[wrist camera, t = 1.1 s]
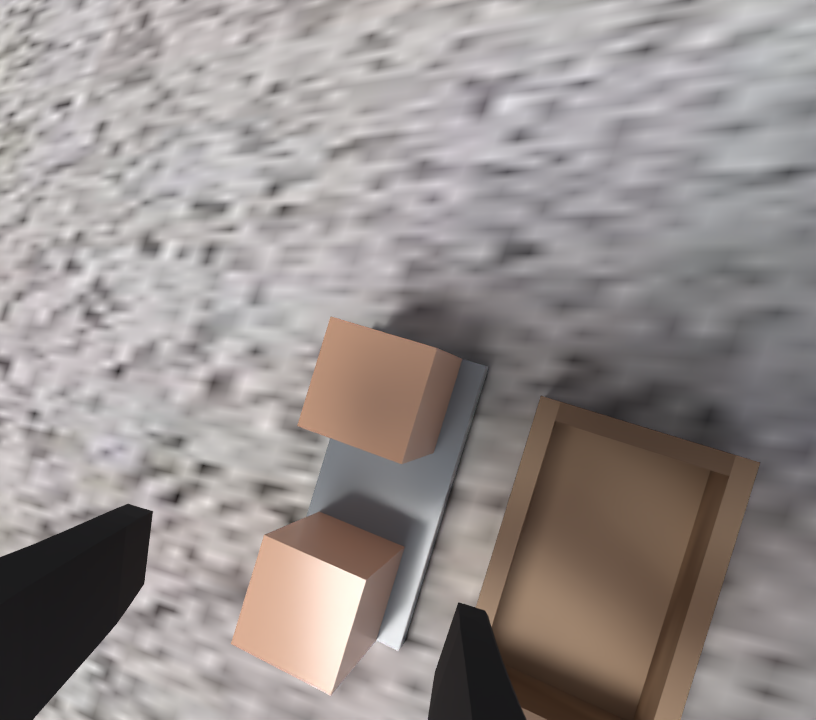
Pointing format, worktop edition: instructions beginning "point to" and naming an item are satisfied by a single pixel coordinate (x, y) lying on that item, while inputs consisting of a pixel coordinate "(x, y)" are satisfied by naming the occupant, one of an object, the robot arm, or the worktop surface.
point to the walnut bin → (610, 565)
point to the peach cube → (317, 598)
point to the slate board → (401, 497)
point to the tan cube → (379, 392)
